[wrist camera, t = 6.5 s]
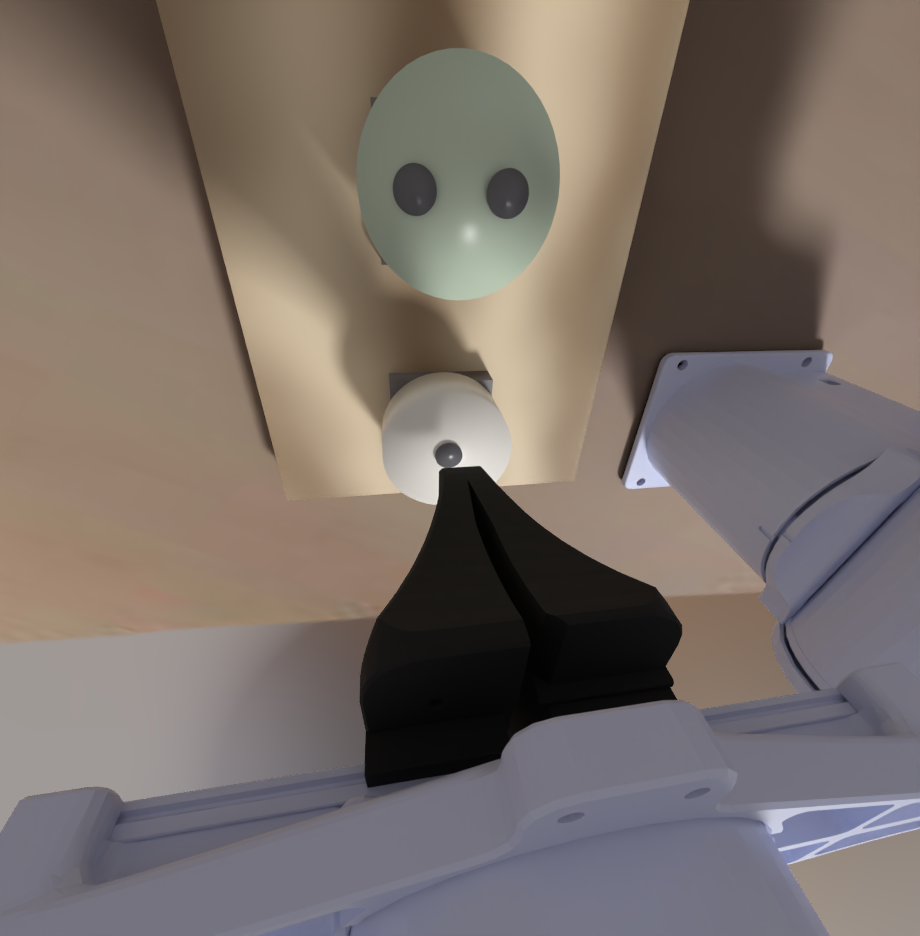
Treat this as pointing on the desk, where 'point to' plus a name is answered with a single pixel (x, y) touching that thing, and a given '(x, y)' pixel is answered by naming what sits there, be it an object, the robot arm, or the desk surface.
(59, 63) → the desk surface
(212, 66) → the button panel
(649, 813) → the robot arm
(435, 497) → the off-white button
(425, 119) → the sage button
